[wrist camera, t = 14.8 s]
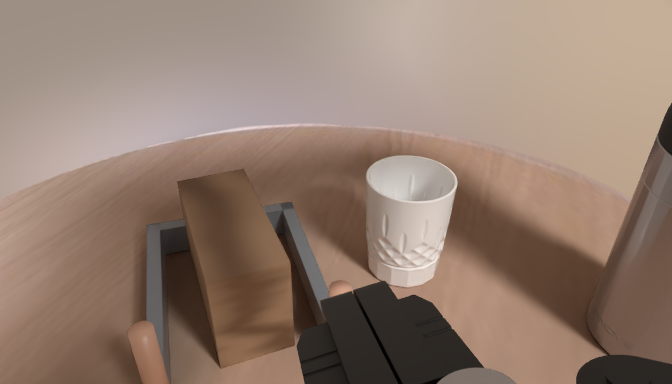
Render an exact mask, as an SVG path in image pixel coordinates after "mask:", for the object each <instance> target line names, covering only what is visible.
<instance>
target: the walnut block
mask: <svg viewBox="0 0 672 384" xmlns="http://www.w3.org/2000/svg"><path fill="white" fill-rule="evenodd" d="M177 183H178V189H179V194H180V199H181V205H182V210H183V215H184V220H185V226H186V231H187V236H188V241H189V247H190V252H191V257H192V261H193V265H194V269H195V273H196V276H197V280H198V284H199V288H200V292H201V295H202V299H203V303H204V307H205V310H206V314H207V318H208V322H209V326H210V329H211V333H212V337H213V341H214V345H215V348H216V352H217V356H218V360H219V364H220V367H221V368H224V367H228V366H231V365H234V364H237V363H240V362H244V361H247V360H250V359H253V358H256V357H260V356H263V355H266V354H269V353H272V352H275V351H279V350H282V349H285V348H288V347H291V346H295V341H294V322H293V302H292V282H291V263H290V260H289V258H288V256H287V254H286V252H285V250H284V248H283V246H282V244H281V242H280V240H279V238H278V236H277V234H276V232H275V230H274V228H273V226H272V224H271V222H270V220H269V219H268V217H267V215H266V213H265V211H264V209H263V207H262V205H261V203H260V201H259V199H258V197H257V195H256V193H255V191H254V189H253V187H252V185H251V183H250V181H249V179H248V177H247V175H246V173H245V171H244V169H241V170H235V171H230V172H225V173H220V174H214V175H209V176H204V177H198V178H193V179H188V180H183V181H177Z"/></svg>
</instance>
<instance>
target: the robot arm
mask: <svg viewBox="0 0 672 384" xmlns="http://www.w3.org/2000/svg"><path fill="white" fill-rule="evenodd" d="M353 293H354V295H353ZM353 293H352V291H349V292H346V293H343V294H339V295H336V296H333V297H330V298H326V299H323V300H320V303H321V308H322V311H323V315H324V319H325V322H326V323H323V324H320V325H317V326H313V327H310V328H307V329H304V330H303V331H302V334H301V336H300V339H299V341H298V344H297V350H298V355H299V359H300V363H301V369H302V373H303V377H304V382H305V384H516V383H515V382H514V381H513V380H512V379H511V378H510V377H508V376H507V375H505V374H503V373H501V372H498V371H495V370H492V369H487V368H484V367H483V366H482V364H481V363H480V362H479V361H478V359H477V358H476V357H475V356H474V354H473V353H472V352H471V351H470V349H469V348H468V347H467V346H466V344H465V343H464V342H463V341H462V339H461V338H460V337H459V336H458V334H457V333H456V332H455V331H454V330H453V329H452V328H451V326H450V325H449V323H448V322H447V321H446V320H445V318H443V316H442V315H441V313H440V312H439V311H438V310H437V308H436V307H435V306H434V305H433V303H431V302H429V301H427V300H425V299H423V298H421V297H418V296H416V295H411V296H408V297H405V298H402V299H399V300H398V299H397V297H396V296H395V294H394V293H393V291H392V290H391V289H390V287H389V286H388V284H387V283H386V281H381V282H378V283H375V284H371V285H368V286H365V287H362V288H358V289H355V290H353ZM587 322H588V327H589V329H590V331H591V333H592V335H593V337H594V338H595V339H596V340H597V342H598V343H599V344H600V346H601V347H603V348H604V349H605V350H606V351H607V352H608V353H609V354H610V355H607V356H602V357H598V358H595V359H593V360H590V361H589V362H587V363H586V364H584V365H583V366H582V367H581V368H580V370H579V371H578V374H577V377H576V384H672V103H671V105H670V107H669V108H668V110H667V113H666V115H665V117H664V119H663V122H662V125H661V127H660V130H659V133H658V134H657V137H656V140H655V142H654V145H653V147H652V150H651V152H650V155H649V157H648V160H647V162H646V165H645V167H644V170H643V173H642V175H641V178H640V180H639V183H638V185H637V188H636V190H635V193H634V195H633V198H632V200H631V203H630V205H629V208H628V210H627V213H626V215H625V218H624V220H623V223H622V225H621V228H620V230H619V233H618V235H617V238H616V240H615V243H614V245H613V248H612V250H611V253H610V255H609V258H608V260H607V263H606V266H605V268H604V271H603V273H602V275H601V278H600V281H599V283H598V286H597V288H596V291H595V293H594V296H593V298H592V301H591V303H590V306H589V308H588V311H587Z"/></svg>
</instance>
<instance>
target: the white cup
mask: <svg viewBox="0 0 672 384" xmlns="http://www.w3.org/2000/svg"><path fill="white" fill-rule="evenodd" d="M456 188H457V178H456V176H455V174H454V173H453V172H452V170H450V169H449V168H448V167H447V166H445V165H443V164H442V163H440V162H437V161H435V160H432V159H429V158H425V157H420V156H412V155H399V156H391V157H387V158H383V159H381V160H378V161H376V162H375V163H373V164H372V165H371V166H370V167H369V168H368V170H367V172H366V232H367V235H366V239H367V244H368V265H369V269H370V270H371V272H372V273H373V274H374V275H375V276H376V278H378V279H379V280H381V281H386V283H387V284H389V285H393V286H399V287H406V288H407V287H413V286H419V285H423V284H424V283H426V282H427V281H429V280H430V279H432V278H433V276H434V274H435V272H436V269H437V267H438V262H439V257H440V253H441V252H442V249H443V245H444V241H445V236H446V232H447V228H448V225H449V220H450V216H451V211H452V206H453V202H454V197H455V193H456Z"/></svg>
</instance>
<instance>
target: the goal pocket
mask: <svg viewBox="0 0 672 384" xmlns="http://www.w3.org/2000/svg"><path fill="white" fill-rule="evenodd" d="M262 207H263V209H264V211H265V213H266V215H267V217H268V219H269V220H270V222H271V224H272V226H273V228H274V230H275V232H276V234H283V233H284V235H285V238H286V240H287V243H288V246H289V249H290V251H291V254H292V257H293V260H294V262H295V265H296V268H297V271H298V274H299V276H300V279H301V282H302V285H303V287H304V290H305V293H306V296H307V298H308V301H309V304H310V307H311V310H312V312H313V315H314V318H315V321H316V323H317V325H320V324H323V323H326V322H325V319H324V315H323V311H322V308H321V303H320V300H323V299H326V298H330V297H333V296H336V295H339V294H343V293H346V292H349V291H352V286H351V285H350V284H349V283H348V282H346V281H342V280H338V281H334V282H333V283H331V284H330V286H329V291H328V288H327V286H326V284H325V281H324V279H323V276H322V274H321V272H320V269H319V267H318V264H317V262H316V259H315V257H314V255H313V252H312V250H311V247H310V245H309V243H308V240H307V238H306V235H305V233H304V231H303V228H302V226H301V223H300V221H299V219H298V216H297V214H296V211H295V209H294V207H293V204H292V202H287V203H281V204H274V205H268V206H262ZM186 250H190V247H189V241H188V236H187V231H186V226H185V220H184V219H181V220H175V221H169V222H163V223H156V224H150V225H147V295H146V321H139V322H137V323H135V324H133V325H132V326H131V327H130V328H129V329H128V331H127V336H128V339H129V342H130V345H131V348H132V352H133V355H134V358H135V361H136V364H137V367H138V371H139V374H140V377H141V380H142V383H143V384H171V377H170V353H169V329H168V305H167V281H166V258H165V254H169V253H175V252H181V251H186Z"/></svg>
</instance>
